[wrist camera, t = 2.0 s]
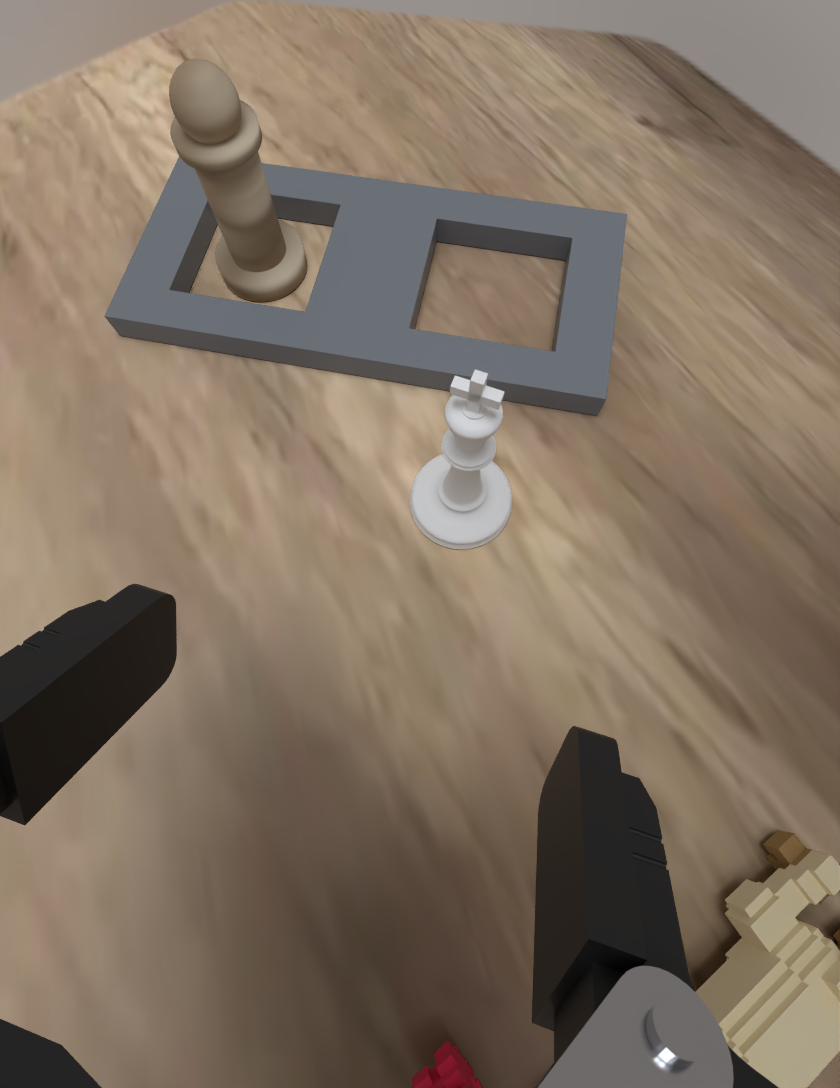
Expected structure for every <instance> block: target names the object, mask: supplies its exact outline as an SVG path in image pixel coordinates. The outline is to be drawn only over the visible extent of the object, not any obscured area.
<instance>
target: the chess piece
mask: <svg viewBox="0 0 840 1088" xmlns="http://www.w3.org/2000/svg"><path fill="white" fill-rule="evenodd" d="M487 378H488V373H485V372H482V371H479V370H476V369H475V370H474V373H473V375H472V377H471V380H468V379H465V378H462V377H458V376H455V377H454V379H453V381H452V384H451V386H450V394H451V395H453V396H452V397H451V398H450V399H449V401H448V402H447V404H446V408H445V419H446V423H447V425H448V427H449V429H448V431H447V432H446V433H445V435H444V437H443V439H442V444H441V449H442V453H443V454H442V455H439V456H437V457H435V458H434V459H432V460H430V461H429V462H428V463H427V464H426V465H425V466H424V467H423V468H422V469H421V470H420V471H419V473H418V474H417V476H416V478H415V480H414V483H413V486H412V489H411V494H410V509H411V513H412V516H413V519H414V521H415V523H416V525H417V526H418V528H419V529H420V530H421V532H422V533H423V534H424V535H425V536H427V537H428V538H429V539H430V540H432V541H433V542H435V543H437V544H439V545H441V546H444V547H448V548H452V549H471V548H476V547H479V546H482V545H484V544H486V543H488V542H489V541H491V540H492V539H494V538H495V537H496V536H497V535H498V534H499V533H500V532H501V531H502V530H503V528H504V527H505V525H506V523H507V521H508V519H509V516H510V512H511V505H512V496H511V489H510V485H509V482H508V480H507V478H506V476H505V475H504V473H503V472H502V470H501V469H500V468H499V467H498V466H497V465H496V464H495V463H494V462H492V460H493V458H494V456H495V454H496V447H497V446H496V441H495V438H494V435H493V434H494V433H495V432H496V431H497V430H498V428H499V427H500V425H501V422H502V419H503V409H502V406H501V403H502V400H503V396H504V391H501V390H498V389H495V388H492V387H489V386H486V383H487Z"/></svg>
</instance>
